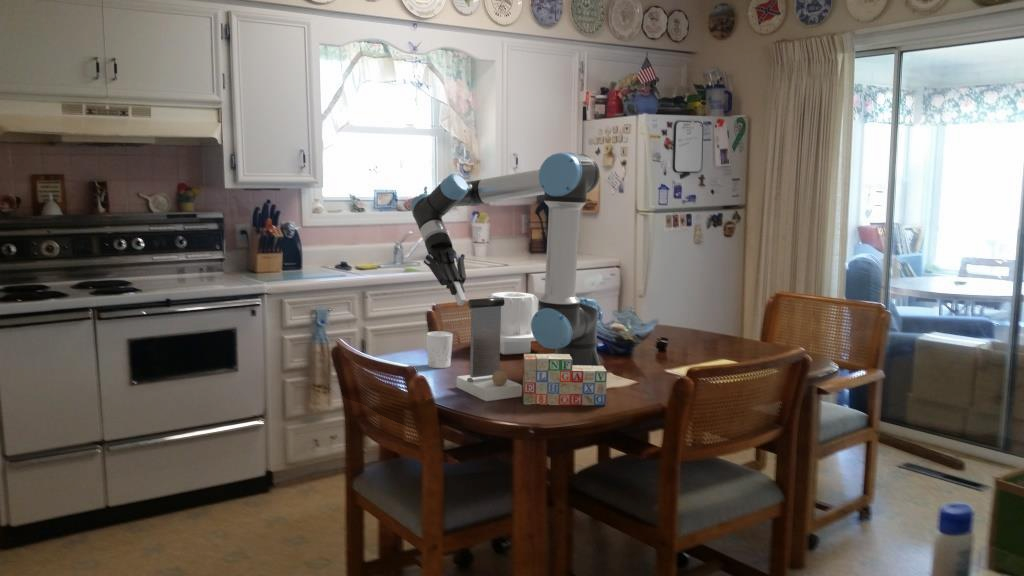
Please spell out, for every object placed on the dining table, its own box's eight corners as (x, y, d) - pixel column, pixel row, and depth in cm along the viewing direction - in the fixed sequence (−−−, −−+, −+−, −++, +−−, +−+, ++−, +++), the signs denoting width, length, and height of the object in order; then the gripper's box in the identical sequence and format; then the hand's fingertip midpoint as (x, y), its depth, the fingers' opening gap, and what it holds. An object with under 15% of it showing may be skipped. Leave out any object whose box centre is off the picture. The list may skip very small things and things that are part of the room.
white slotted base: (456, 387, 227) (457, 362, 226) (490, 382, 232) (491, 358, 232) (486, 401, 213) (486, 374, 212) (521, 396, 219) (522, 370, 218)
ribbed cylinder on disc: (528, 341, 292) (530, 288, 290) (561, 356, 270) (563, 299, 267) (463, 345, 282) (464, 290, 279) (491, 361, 260) (493, 301, 257)
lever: (466, 376, 223) (468, 298, 220) (498, 372, 228) (500, 296, 225) (470, 378, 221) (472, 300, 218) (502, 374, 226) (504, 298, 223)
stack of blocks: (602, 399, 218) (604, 354, 217) (605, 406, 212) (607, 359, 210) (521, 398, 218) (523, 352, 216) (523, 404, 211) (524, 358, 210)
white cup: (448, 369, 247) (448, 337, 245) (422, 367, 248) (423, 335, 247) (455, 364, 254) (455, 332, 253) (430, 362, 256) (431, 330, 254)
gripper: (451, 246, 250) (477, 309, 239) (412, 247, 244) (437, 312, 232) (460, 230, 245) (487, 293, 234) (420, 231, 238) (446, 296, 227)
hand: (462, 302), depth 233 cm, fingers closed
